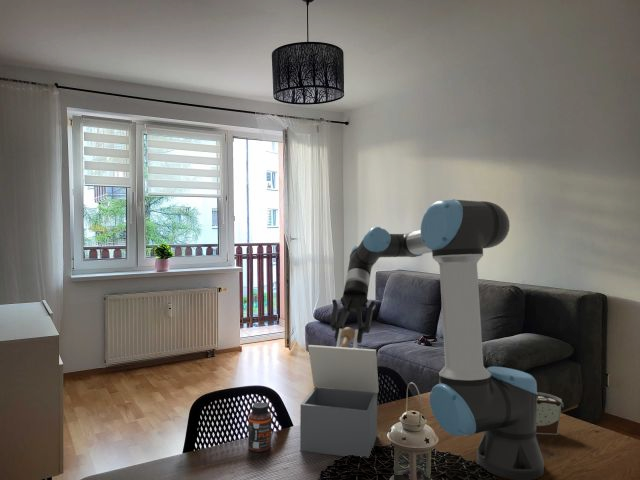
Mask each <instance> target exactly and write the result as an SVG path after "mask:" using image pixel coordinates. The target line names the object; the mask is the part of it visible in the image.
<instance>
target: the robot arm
mask: <svg viewBox="0 0 640 480" xmlns="http://www.w3.org/2000/svg"><path fill="white" fill-rule="evenodd" d="M420 223H421V224H420V229H418V230H415V231H411V232H407V233H389V232H388V230H387V229H386V228H381V226H375V227H371V228H370V229H369V231H367V232H366V234H365V235H364V237H363V238H362V240H361V242H360V243H359V244H357V245H355V246H353V248H352V249H351V251H350V254H349V262H348V268H347V274H346V277H345V278H346V279H345V283H344V288H343V294H342V296H341V297H340V299H337V300H336V299H332V300H331V301H332V305H333V306H332V312H331V318H330V319H331V320H330V328H331V331H334V332H335V333H334V341H335V342H336V345H335V347H341V345H342V342H343V338H342V337H341V332H342V330H343V329H344V326H345V325H346V324H345V323H346V322H347V319H348V317H349V315H350V314H351V313H356V317H357V319H356V320H357V329H355V330H354V332H355V336H354V339H353V344H352V348H358V345H359V344H361V343H362V341H363V336H364V334H365V333H366V334H368V333H370V331H371V325H372V320H373V319H372V318H373V313H374V311H375V310H376V308H377V307H376V302H375V301H374V300H372V301H370V300H369V299H368V294H369V286H370V281H371V273H372V269H373V266H374V265H375V264H376V263H377V261H378V260H379V259H380V258H405V257H406V258H417V257H421V256H423V255H424V254H430V253H431V255H432V257H431V258H432V259H433V260H434V261H435V262H437V264H438V265H439V283H440V295H441V296H440V297H441V300H440V301H441V315H442V317H441V318H442V333H443V334H442V335H443V336H442V337H443V350H444V366H443V368H441V370H440V371H439V372H438V377H439V378H438V379H439V380H438V381H439V383H437V384H435V385H434V386H433V387H432V388H431V391H430V393H429V404H430V405H429V406H430V410H431V412H432V414H433V415H432V416H433V417H434V419H435V421H436V422H437V423H438V425H439V427H440V428H442V430H443V431H444V432H445V433H447V434H449V435H451V436H454V437H463V436H473V435H474V434H478V433H482V436H481V439H480V441H479V444H478V447H477V450H476V461H477V463H478V465H479V466H480V467H481V466H482V467H483V468H484V470H485V469H486V470H487V471H486V470H485V471H486V472H488V473H490V474H492V475H494V476H497V477H500V478H504V479H507V480H536V479H537V480H538V479H539V478H541V477H542V476H543V475H544V471H545V469H544V467H545V463H544V462H545V461H544V458H543V455H542V452H541V449H540V446H539V443H538V442H539V441H538V439H537V434H536V419H537V395H538V393H537V392H538V386H537V385H538V384H537V380H536V378H535V377H534V376H533V375H532V374H530V373H528V372H525V371H522V370H518V369H515V368H511V367H509V368H508V367H502V366H489V367H485V366H484V356H483V341H482V340H483V339H482V338H483V337H482V323H481V320H482V319H481V309H480V308H481V307H480V306H481V305H480V288H479V275H478V274H479V273H478V262H479V261H480V260H481V259H482V258H483V257H484V249H491V248H494V247H496V246H497V247H498V245H500V244H501V243H503V241H504V240H505V239H506V238H507V236H508V234H509V231H510V226H511V225H510V219H509V216H508V214H507V212H506V210H504V208H502V207H501V206H499V205H498V204H497V203H493V202H491V201H486V200H485V201H483V200H464V199H455V198H454V199H443V200H437V201H435V202H433V203H432V204H431V205H430V206H429V207H428V208H427V210H426V212H424V214H423V215H422V220H421V222H420ZM341 305H342V307H343V309H342V312H341V314H340V316H339V309H340V308H341ZM366 307H367V312H366V316H365V317H366V318H365V322H364V326H363V317H362V310H364V308H366ZM338 316H339V319H338ZM482 467H481V468H482ZM483 468H482V469H483Z"/></svg>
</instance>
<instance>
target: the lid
mask: <svg viewBox="0 0 640 480" xmlns="http://www.w3.org/2000/svg"><path fill="white" fill-rule="evenodd" d="M354 336H355V330H354V328H352V327H350V326H347V327H343V329H342V332H341V337H342V344H341V347H336V346H329V345H328V346H327V345H318V344H317V345H316V344H308V346H307V349H308V356H309V362H310V368H311V375H312V383H313V388H315V387H319V388H330V389H340V390H351V391H361V392H372V393H377V394H378V393H379V377H378V375H379V374H378V362H377V361H378V360H377V357H378V356H377V349H373V348H372V349H371V348H359V347H357V348H353V347H349V343H350V342H352V340H353V341H354Z"/></svg>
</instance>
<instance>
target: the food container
mask: <svg viewBox="0 0 640 480" xmlns="http://www.w3.org/2000/svg"><path fill="white" fill-rule="evenodd" d="M537 393H538V395H537V419H536V435H551V436H552V435H556V436H558V435H559V434H558V433H559V429H560V428H559V426H560V421H561V419H560V418H561V412H562V408H564V402H563V399H562V398H560V397H558V396H555V395H553V394H549V393H545V392H538V391H537Z"/></svg>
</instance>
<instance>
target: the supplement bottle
mask: <svg viewBox="0 0 640 480" xmlns="http://www.w3.org/2000/svg"><path fill="white" fill-rule="evenodd" d="M251 410H252V411H251V412H250V413H249V415H248V427H247V428H248V431H247V432H248V435H247V436H248V437H247V438H248V441H247V442H248V445H247V446H248V449H249V450H250V451H252V452H256V453H260V452H262V453H263V452H265V451H267V450H269V449H270V448H271V446H272V413H271V412H270V411H269V405H268V403H266V402H262V401H260V402H259V401H258V402H255V403H253V404H252V409H251Z"/></svg>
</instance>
